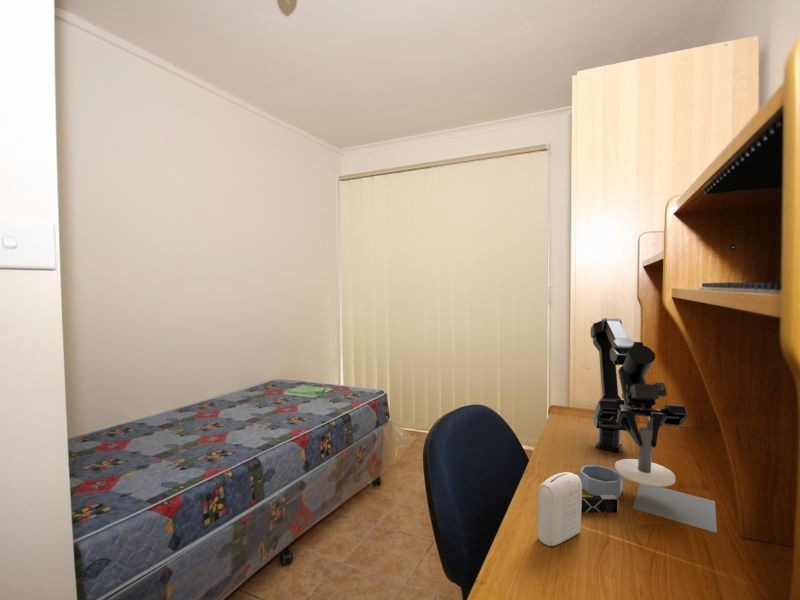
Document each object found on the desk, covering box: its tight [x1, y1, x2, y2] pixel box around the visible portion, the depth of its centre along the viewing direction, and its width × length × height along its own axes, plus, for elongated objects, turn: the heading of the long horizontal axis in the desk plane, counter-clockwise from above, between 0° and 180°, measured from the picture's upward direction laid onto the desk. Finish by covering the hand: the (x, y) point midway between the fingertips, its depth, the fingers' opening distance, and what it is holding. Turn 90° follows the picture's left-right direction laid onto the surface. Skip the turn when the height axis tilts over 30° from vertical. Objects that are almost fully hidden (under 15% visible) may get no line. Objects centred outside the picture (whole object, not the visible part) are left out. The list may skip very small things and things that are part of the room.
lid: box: [614, 426, 676, 488], centre depth 95 cm, size 12×12×10 cm
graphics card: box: [581, 495, 619, 514], centre depth 90 cm, size 12×3×5 cm, turn 92°
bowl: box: [578, 464, 624, 498], centre depth 100 cm, size 9×9×4 cm
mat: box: [632, 483, 718, 534], centre depth 93 cm, size 15×15×1 cm
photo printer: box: [536, 471, 583, 547], centre depth 82 cm, size 10×4×12 cm, turn 123°
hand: (647, 446), depth 93 cm, fingers closed on lid, 3 cm apart
